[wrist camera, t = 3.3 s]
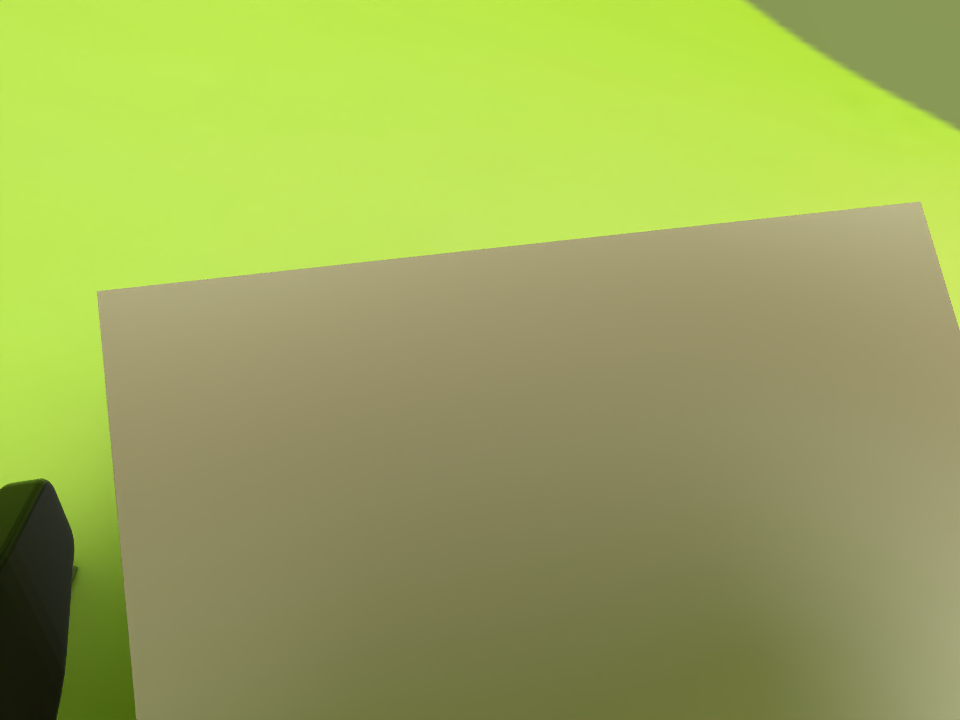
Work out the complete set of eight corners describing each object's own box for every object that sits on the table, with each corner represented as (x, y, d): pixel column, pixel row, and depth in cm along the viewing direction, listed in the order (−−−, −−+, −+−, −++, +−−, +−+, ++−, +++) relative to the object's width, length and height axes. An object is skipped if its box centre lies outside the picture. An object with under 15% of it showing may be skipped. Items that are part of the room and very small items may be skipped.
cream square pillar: (544, 617, 16) (1121, 866, 4) (300, 671, 15) (180, 1209, 3) (508, 428, 16) (922, 200, 5) (273, 466, 15) (96, 291, 4)
